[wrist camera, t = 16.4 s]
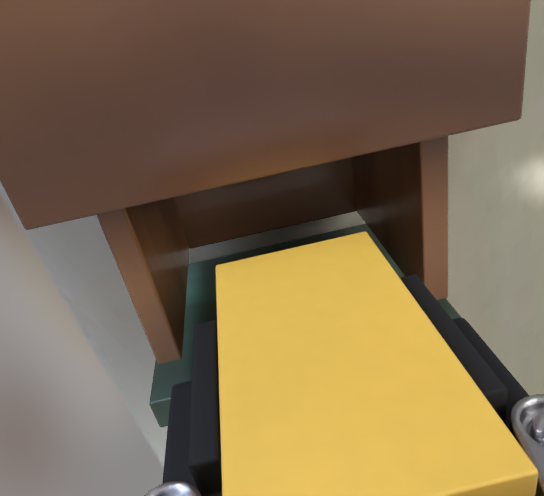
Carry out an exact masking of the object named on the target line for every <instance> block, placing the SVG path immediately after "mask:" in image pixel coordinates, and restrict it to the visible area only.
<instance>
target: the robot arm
mask: <svg viewBox="0 0 544 496" xmlns="http://www.w3.org/2000/svg"><path fill="white" fill-rule="evenodd" d="M400 279H401V281H402V282H403V283H404V285H405V286H406V288H407V289H408V290H409V292H410V293H411V295H412V296H413V297H414V299H415V300H416V302H417V303H418V304H419V306H420V307H421V308H422V310H423V311H424V313H425V314H426V315H427V317H428V318H429V320H430V321H431V322H432V324H433V325H434V327H435V328H436V329H437V331H438V332H439V333H440V335H441V336H442V338H443V339H444V340H445V342H446V343H447V345H448V346H449V347H450V349H451V350H452V352H453V353H454V354H455V356H456V357H457V359H458V360H459V361H460V363H461V364H462V365H463V367H464V368H465V370H466V371H467V372H468V374H469V375H470V377H471V378H472V379H473V381H474V382H475V384H476V385H477V386H478V388H479V389H480V390H481V392H482V393H483V395H484V396H485V397H486V399H487V400H488V402H489V403H490V404H491V406H492V407H493V409H494V410H495V411H496V413H497V414H498V416H499V417H500V418H501V420H502V421H503V422H504V424H505V425H506V427H507V428H508V429H509V431H510V432H511V434H512V435H513V436H514V438H515V439H516V441H517V442H518V443H519V445H520V446H521V447H522V449H523V450H524V452H525V453H526V454H527V456H528V457H529V459H530V460H531V461H532V463H533V464H534V466H535V467H536V468H537V470H538V480H537V487H536V493H535V496H544V395H543V394H536V395H532V396H529V395H528V394H527V392H526V391H525V390H524V389H523V388H522V386H521V385H520V384H519V383H518V382H517V380H516V379H515V378H514V377H513V376H512V374H511V373H510V372H509V371H508V370H507V369H506V367H505V366H504V365H503V364H502V363H501V361H500V360H499V359H498V358H497V357H496V355H495V354H494V353H493V352H492V351H491V349H490V348H489V347H488V346H487V345H486V343H485V342H484V341H483V340H482V339H481V337H480V336H479V335H478V334H477V333H476V331H475V330H474V329H473V328H472V327H471V326H470V324H469V323H468V322H467V321H466V320H465V319H463V318H461V317H460V318H455V319H451V318H450V316H449V315H448V314H447V313H446V311H445V310H444V309H443V307H442V306H441V305H440V304H439V302H438V301H437V300H436V299H435V297H434V296H433V295H432V294H431V292H430V291H429V290H428V289H427V287H426V286H425V285H424V284H423V282H422V281H421V280H420V279H419V277H418V276H417V275H415V274H413V275H408V276H404V277H400ZM145 496H222V469H221V436H220V403H219V369H218V336H217V320H214V321H209V322H205V323H201V324H197V325H195V326H194V340H193V364H192V380H190V381H186V382H182V383H178V384H174V385H173V386H172V391H171V400H170V410H169V421H168V431H167V442H166V452H165V463H164V473H163V484H161V485H159V486H157V487H155V488H154V489H152V490H150V491H149V492H148V493H147V494H146V495H145Z"/></svg>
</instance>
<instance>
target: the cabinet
mask: <svg viewBox="0 0 544 496" xmlns="http://www.w3.org/2000/svg"><path fill="white" fill-rule="evenodd" d="M529 13H530V0H0V181H1V183H2V185H3V187H4V189H5V190H6V192H7V194H8V196H9V198H10V200H11V202H12V204H13V206H14V208H15V210H16V212H17V214H18V216H19V218H20V220H21V222H22V224H23V226H24V228H25V229H26V230H30V229H34V228H39V227H43V226H48V225H52V224H56V223H61V222H65V221H70V220H74V219H79V218H83V217H88V216H92V215H97V214H101V213H106V212H110V211H114V210H119V209H123V208H128V207H132V206H137V205H141V204H146V203H150V202H155V201H159V200H163V199H168V198H172V197H177V196H181V195H186V194H190V193H195V192H199V191H204V190H208V189H213V188H217V187H221V186H226V185H230V184H235V183H239V182H244V181H248V180H253V179H257V178H262V177H266V176H271V175H275V174H279V173H284V172H288V171H293V170H297V169H302V168H306V167H311V166H315V165H320V164H324V163H328V162H333V161H337V160H342V159H346V158H351V157H355V156H360V155H364V154H369V153H373V152H378V151H382V150H386V149H391V148H395V147H400V146H404V145H409V144H413V143H418V142H422V141H427V140H431V139H436V138H440V137H444V136H449V135H453V134H458V133H462V132H467V131H471V130H476V129H480V128H485V127H489V126H493V125H498V124H502V123H507V122H511V121H516V120H519V119H520V118H521V115H522V102H523V90H524V77H525V64H526V51H527V39H528V26H529Z"/></svg>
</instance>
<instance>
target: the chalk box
mask: <svg viewBox="0 0 544 496" xmlns="http://www.w3.org/2000/svg"><path fill="white" fill-rule="evenodd" d="M215 270H216V303H217V336H218V369H219V403H220V436H221V469H222V496H535V493H536V487H537V480H538V470H537V468H536V467H535V466H534V464H533V463H532V461H531V460H530V459H529V457H528V456H527V454H526V453H525V452H524V450H523V449H522V447H521V446H520V445H519V443H518V442H517V441H516V439H515V438H514V436H513V435H512V434H511V432H510V431H509V429H508V428H507V427H506V425H505V424H504V422H503V421H502V420H501V418H500V417H499V416H498V414H497V413H496V411H495V410H494V409H493V407H492V406H491V404H490V403H489V402H488V400H487V399H486V397H485V396H484V395H483V393H482V392H481V390H480V389H479V388H478V386H477V385H476V384H475V382H474V381H473V379H472V378H471V377H470V375H469V374H468V372H467V371H466V370H465V368H464V367H463V365H462V364H461V363H460V361H459V360H458V359H457V357H456V356H455V354H454V353H453V352H452V350H451V349H450V347H449V346H448V345H447V343H446V342H445V340H444V339H443V338H442V336H441V335H440V333H439V332H438V331H437V329H436V328H435V327H434V325H433V324H432V322H431V321H430V320H429V318H428V317H427V315H426V314H425V313H424V311H423V310H422V308H421V307H420V306H419V304H418V303H417V302H416V300H415V299H414V297H413V296H412V295H411V293H410V292H409V290H408V289H407V288H406V286H405V285H404V283H403V282H402V281H401V279H400V278H399V276H398V275H397V274H396V272H395V271H394V270H393V268H392V267H391V265H390V264H389V263H388V261H387V260H386V258H385V257H384V256H383V254H382V253H381V251H380V250H379V249H378V247H377V246H376V245H375V243H374V242H373V240H372V239H371V238H370V236H369V235H368V233H367V232H365V231H364V232H360V233H356V234H351V235H347V236H342V237H338V238H334V239H329V240H325V241H320V242H316V243H312V244H307V245H303V246H299V247H294V248H290V249H285V250H281V251H277V252H272V253H268V254H263V255H259V256H255V257H250V258H246V259H242V260H237V261H233V262H228V263H224V264H220V265H216V267H215Z"/></svg>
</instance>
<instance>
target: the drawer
mask: <svg viewBox="0 0 544 496" xmlns="http://www.w3.org/2000/svg"><path fill="white" fill-rule="evenodd" d="M353 211H357V212H358V213H359V215H360V216H361V217H362V219H363V220H364V221H365V223H366V224H364V225H360V226H355V227H351V228H346V229H342V230H338V231H333V232H329V233H325V234H320V235H316V236H311V237H307V238H303V239H298V240H294V241H289V242H285V243H281V244H276V245H272V246H267V247H263V248H259V249H254V250H250V251H246V252H241V253H237V254H232V255H228V256H224V257H219V258H215V259H210V260H206V261H202V262H197V263H193V264H188V263H189V249H190V248H195V247H199V246H204V245H208V244H212V243H217V242H221V241H226V240H230V239H234V238H239V237H243V236H248V235H252V234H256V233H261V232H265V231H270V230H274V229H278V228H283V227H287V226H292V225H296V224H301V223H305V222H309V221H314V220H318V219H323V218H327V217H331V216H336V215H340V214H345V213H349V212H353ZM97 217H98V220H99V222H100V224H101V227H102V229H103V232H104V234H105V236H106V239H107V241H108V244H109V246H110V249H111V251H112V253H113V256H114V258H115V261H116V263H117V265H118V268H119V270H120V273H121V275H122V278H123V280H124V282H125V285H126V287H127V290H128V292H129V295H130V297H131V299H132V302H133V304H134V307H135V309H136V311H137V314H138V316H139V319H140V321H141V324H142V326H143V328H144V331H145V333H146V336H147V338H148V340H149V343H150V345H151V348H152V350H153V353H154V355H155V357H156V362H155V369H154V376H153V383H152V390H151V397H150V406H151V408H152V411H153V413H154V415H155V417H156V419H157V422H158V424H159V426H160V427H164V426H168V421H169V410H170V400H171V391H172V386H173V385H174V384H178V383H182V382H186V381H190V380H192V364H193V340H194V326H195V325H197V324H201V323H205V322H209V321H214V320H217V303H216V270H215V267H216V265H220V264H224V263H228V262H233V261H237V260H242V259H246V258H250V257H255V256H259V255H263V254H268V253H272V252H277V251H281V250H285V249H290V248H294V247H299V246H303V245H307V244H312V243H316V242H320V241H325V240H329V239H334V238H338V237H342V236H347V235H351V234H356V233H360V232H364V231H365V232H367V233H368V235H369V236H370V238H371V239H372V240H373V242H374V243H375V245H376V246H377V247H378V249H379V250H380V251H381V253H382V254H383V256H384V257H385V258H386V260H387V261H388V263H389V264H390V265H391V267H392V268H393V270H394V271H395V272H396V274H397V275H398V276H399V278H400V277H404V276H408V275H413V274H415V275H417V276H418V277H419V279H420V280H421V281H422V282H423V284H424V285H425V286H426V287H427V289H428V290H429V291H430V292H431V294H432V295H433V296H434V297H435V299H436V300H437V301H438V302H439V304H440V305H441V306H442V307H443V309H444V310H445V311H446V313H447V314H448V315H449V316H450V318H451V319H455V318H460V317H461V316H460V315H459V314H458V313H457V312H456V310H455V309H454V308H453V307H452V305H451V304H450V303H449V302H448V301H447V299H446V298H447V297H448V136H444V137H440V138H436V139H431V140H427V141H422V142H418V143H413V144H409V145H404V146H400V147H395V148H391V149H386V150H382V151H378V152H373V153H369V154H364V155H360V156H355V157H351V158H346V159H342V160H337V161H333V162H328V163H324V164H320V165H315V166H311V167H306V168H302V169H297V170H293V171H288V172H284V173H279V174H275V175H271V176H266V177H262V178H257V179H253V180H248V181H244V182H239V183H235V184H230V185H226V186H221V187H217V188H213V189H208V190H204V191H199V192H195V193H190V194H186V195H181V196H177V197H172V198H168V199H163V200H159V201H155V202H150V203H146V204H141V205H137V206H132V207H128V208H123V209H119V210H114V211H110V212H106V213H101V214H97Z"/></svg>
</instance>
